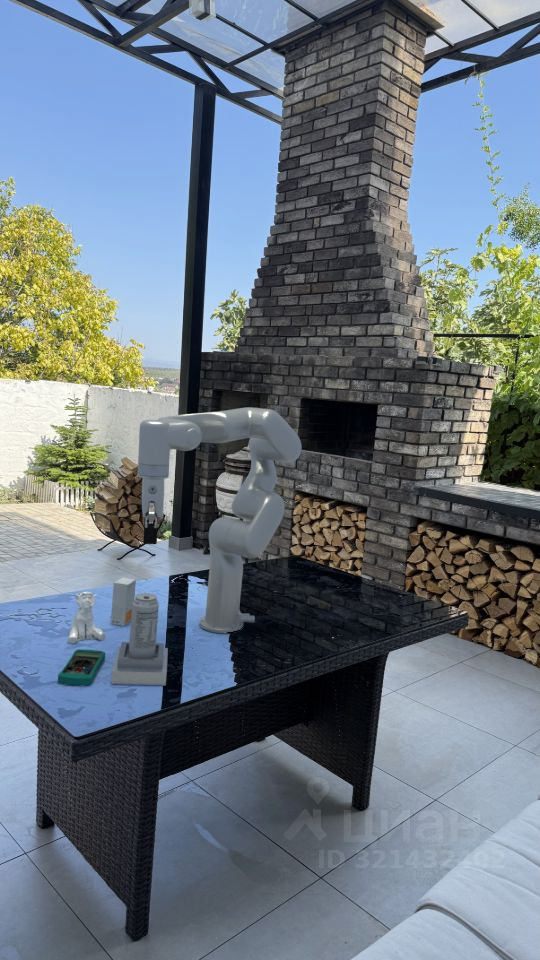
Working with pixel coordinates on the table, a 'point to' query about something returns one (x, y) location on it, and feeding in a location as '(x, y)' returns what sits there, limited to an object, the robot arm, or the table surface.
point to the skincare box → (122, 601)
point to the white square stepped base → (140, 667)
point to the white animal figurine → (84, 620)
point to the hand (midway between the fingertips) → (150, 538)
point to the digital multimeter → (81, 667)
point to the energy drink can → (143, 626)
